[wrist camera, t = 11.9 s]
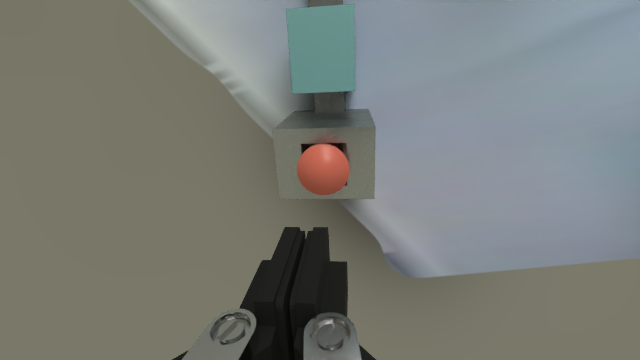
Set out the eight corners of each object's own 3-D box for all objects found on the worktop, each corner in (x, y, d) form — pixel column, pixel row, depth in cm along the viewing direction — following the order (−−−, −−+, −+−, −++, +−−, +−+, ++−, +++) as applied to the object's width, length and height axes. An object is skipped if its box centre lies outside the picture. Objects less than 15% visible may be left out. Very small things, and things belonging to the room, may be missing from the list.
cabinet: (368, 108, 32) (375, 126, 22) (368, 162, 34) (374, 198, 25) (294, 111, 33) (272, 129, 23) (298, 163, 35) (279, 199, 25)
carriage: (353, 19, 29) (354, 3, 21) (354, 85, 31) (355, 90, 23) (302, 23, 29) (285, 9, 22) (306, 87, 31) (292, 93, 24)
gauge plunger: (349, 131, 26) (348, 144, 22) (350, 174, 27) (349, 195, 23) (303, 133, 26) (294, 146, 22) (306, 175, 28) (298, 195, 24)
